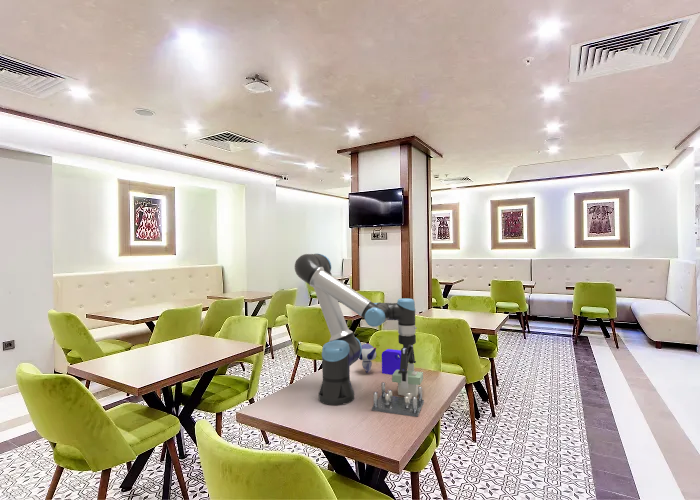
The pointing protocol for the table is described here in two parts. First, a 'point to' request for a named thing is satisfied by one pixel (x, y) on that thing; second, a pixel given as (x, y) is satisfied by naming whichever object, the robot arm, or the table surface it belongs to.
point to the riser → (408, 390)
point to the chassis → (398, 403)
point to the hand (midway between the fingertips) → (408, 383)
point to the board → (413, 377)
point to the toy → (367, 356)
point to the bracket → (390, 361)
